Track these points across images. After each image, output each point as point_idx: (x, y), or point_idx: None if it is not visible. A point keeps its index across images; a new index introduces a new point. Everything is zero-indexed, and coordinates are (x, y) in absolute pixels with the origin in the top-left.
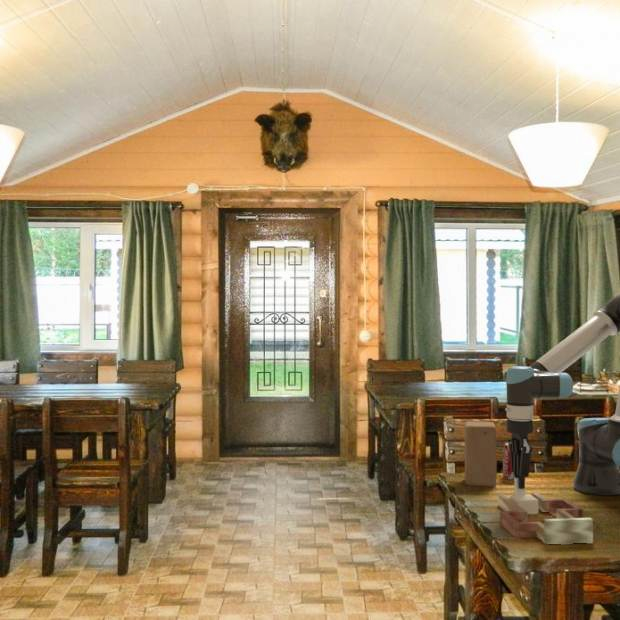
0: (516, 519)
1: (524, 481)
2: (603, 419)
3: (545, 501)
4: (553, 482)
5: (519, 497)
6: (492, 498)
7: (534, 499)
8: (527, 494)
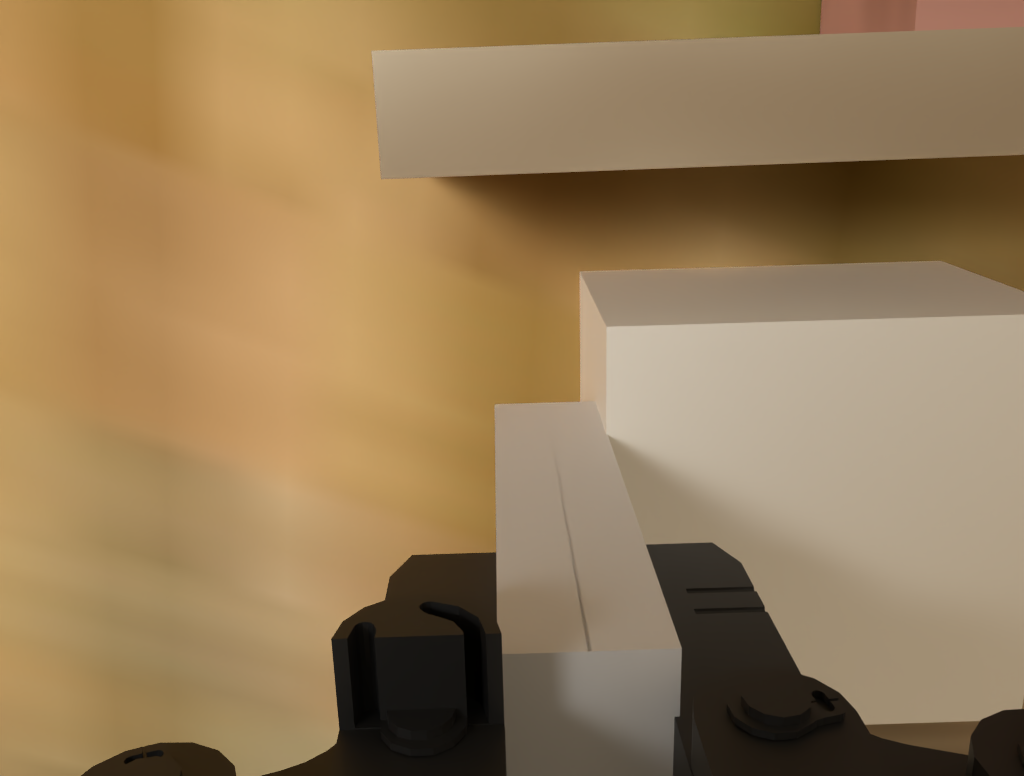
0: None
1: (791, 656)
2: None
3: (1015, 109)
4: None
5: (812, 621)
6: (15, 690)
7: (1022, 378)
8: (609, 384)
